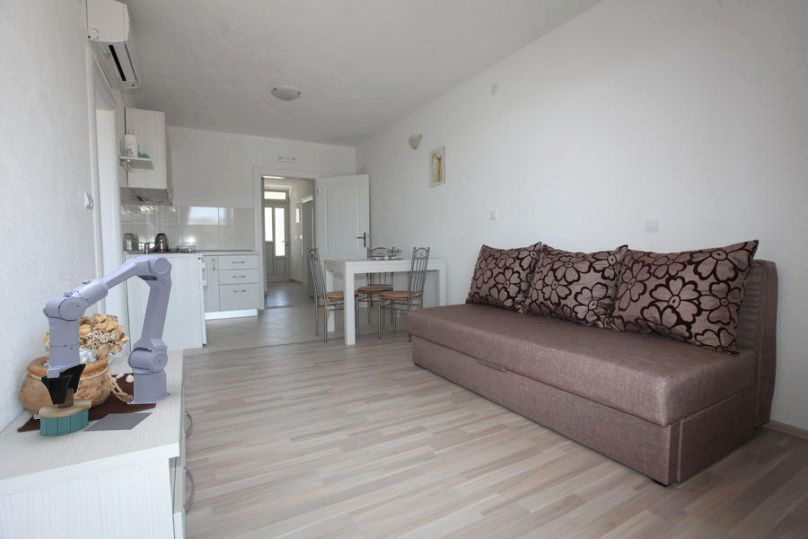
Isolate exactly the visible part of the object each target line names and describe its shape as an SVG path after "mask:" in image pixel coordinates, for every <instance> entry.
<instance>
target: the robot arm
mask: <svg viewBox="0 0 808 539" xmlns="http://www.w3.org/2000/svg"><path fill="white" fill-rule="evenodd" d="M172 267H173V265H172V263H171V262H170V260H169V259H168V258H167V257H166V256H164V255H140V254H137V255H134V256H133V257H132V258H128V259H126V261H125V262H124V263H123V264H121V265H120V266H118V267H116V268H115V269H113V270H112V271H111V272H108V274H106V275H104V276H103V277H101V278H99V279H97V278H92V279H84V280H83V281H81V283H82V284H80V285H78V286H77V287H75V288H73V289H71V290H66V291H64V293H63V296H61V295H60V296H59V295H58V296H54V297H52V298H51V299H49V300H48V301H47V303H46V304H45V306H44V308H42V313H43V315H44V316H45V317H46V318H47V320H48V325H49V328H48V329H49V330H48V331H49V333H48V339H49V340H48V341H49V343H48V344H49V346H48V347H49V352H48V353H49V354H48V355H49V361H48V362H45V363H44V364H43V365H42V367H43V368H48V369H46V370H47V375H46V376H43V377H41V382H42V383H43V384H44V385H45V386H46V388H47V390H48V392H49V395H50V398H51V401H52V403H53V405H56V404H64V403H65V400H66V395H67V388H73V389H74V394H75V393H76V392H77V389H78V385H79V381H80V377H81V375H82V376H83V373H84V370H85V368H86V366H87V364H86V363H82V362H81V354H80V318H82V317H83V316H84V315H85V312H86V310H88V308H90V307H92V306H93V305H95V304H96V303H98V302H100V301H101V300H103V299H104V298H106V297H107V296H108V295H109V290H110V289H112V288H114V287H116V286H118V285H120V284H121V283H124V282H125V281H128V280H129V279H130V278H132V277H137V278H138V279H141V280H142V281H143V282H144V283H146V284H147V286H149V293H148V299H147V303H146V309H145V314H144V319H143V324H142V330H141V334H140V338H139V339H138V340H137V341H135V343H134V344H133V346H132V349H131V351H130V353H129V354H128V356H127V365H128V366H129V368H132V370H131V372H133V399H134V401H132V402H131V403H129V402H130V401H129V402H127V405H139V404H140V405H141V404H142V405H143V404H149V405H150V404H157V403H159V401H161V400H162V399H164V398H165V397H166V396H168V395H170V392H169V391H167V372H166V371H165V370H164V368H166V366H167V365H168V361H169V357H168V352H167V351H168V345H167V344H165V342H164V341H163V340H162V338H163V333H164V330H165V329H164V328H165V324H166V317H167V314H168V313H167V312H168V305H169V300H170V297H171V296H170V295H171V291H172V290H171V289H172V286H173V285H172V283H173V282H172V277H171V272H172Z"/></svg>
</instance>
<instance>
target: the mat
mask: <svg viewBox="0 0 808 539" xmlns="http://www.w3.org/2000/svg"><path fill="white" fill-rule="evenodd" d="M152 414H153V412H129V413H124V412H123V413H108V414H107V415H105V416H104V417H102V418H100V420H97V421H96V422H95V423H93V424H92V425H90V426H89V427H87V428H85V429H83V432H102V431H103V432H104V431H105V432H106V431H126V430H127V431H131V430H132V429H134V428H135V427H136V426H138V425H139V424H140V423H141V422H143V421H144V420H145V419H147V418H148V417H149V416H150V415H152Z"/></svg>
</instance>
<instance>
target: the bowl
mask: <svg viewBox="0 0 808 539" xmlns="http://www.w3.org/2000/svg"><path fill="white" fill-rule="evenodd" d="M39 421H40V422H39V423H40V426H39V427H40V428H39V429H40V430H39V431H40V435H41V436H44V437H45V436H46V437H57V436H58V437H59V436H63V435H68V434H72V433H75V432H78V431H80V430H84V428H85V429H86V427H87V426H88V424H89V409H87V410H85V411H83V412H80V413H77V414H74V415H69V416H64V417H57V418H43V417H40V420H39Z"/></svg>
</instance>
